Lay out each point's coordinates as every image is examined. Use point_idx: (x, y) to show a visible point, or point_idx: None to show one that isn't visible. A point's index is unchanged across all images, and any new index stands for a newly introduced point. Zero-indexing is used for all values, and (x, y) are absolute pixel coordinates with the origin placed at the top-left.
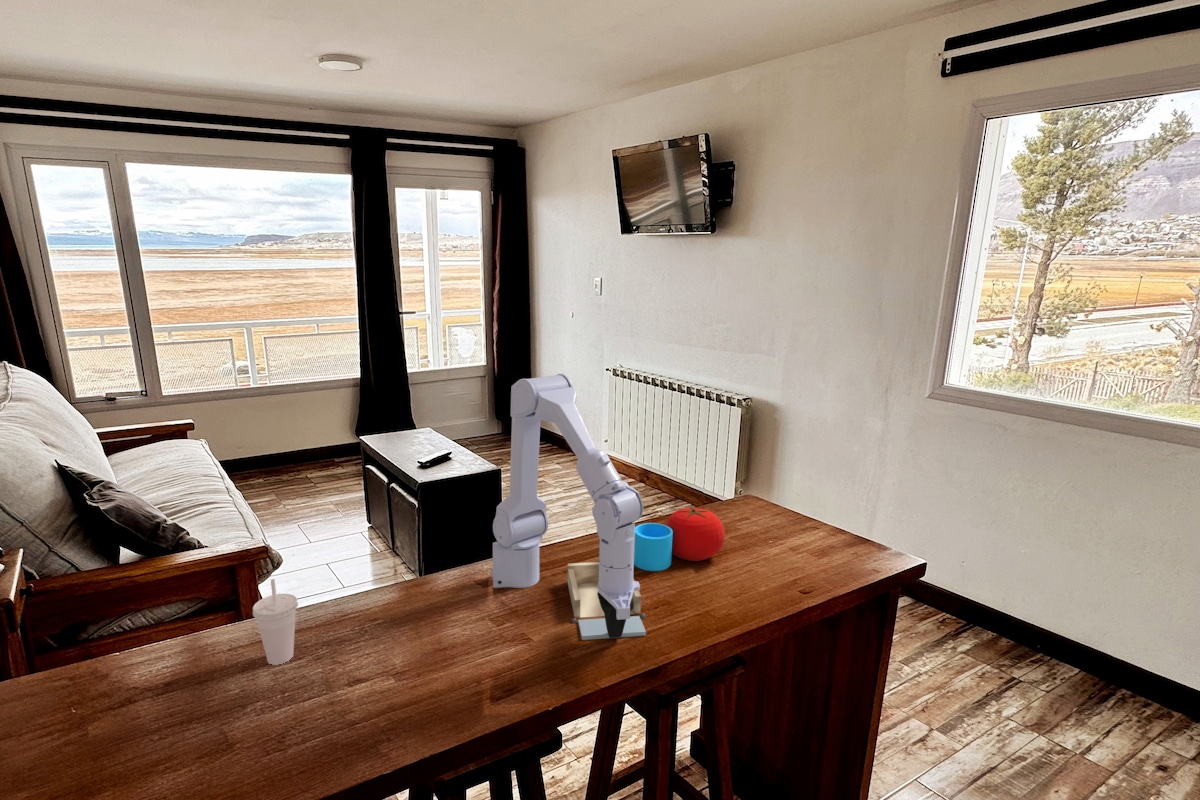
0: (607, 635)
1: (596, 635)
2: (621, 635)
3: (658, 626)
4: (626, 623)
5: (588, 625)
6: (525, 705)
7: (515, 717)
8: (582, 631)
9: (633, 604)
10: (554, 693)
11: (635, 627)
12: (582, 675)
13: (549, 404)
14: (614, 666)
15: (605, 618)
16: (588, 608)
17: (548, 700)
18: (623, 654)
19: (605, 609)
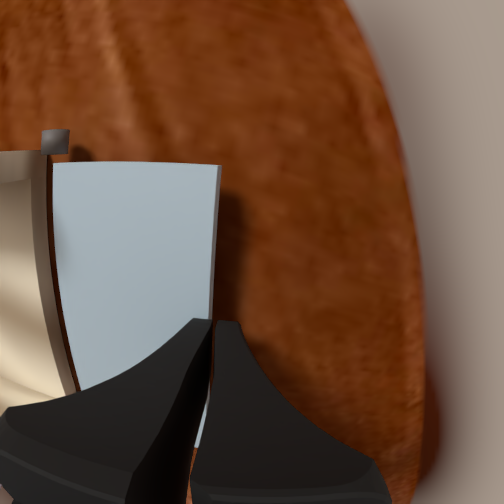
0: None
1: (205, 409)
2: (239, 324)
3: (118, 71)
4: (112, 255)
5: None
6: (394, 495)
7: (410, 497)
8: None
9: (381, 494)
10: (393, 470)
11: (158, 216)
12: (366, 432)
13: None
14: (369, 350)
15: (192, 448)
16: (13, 356)
17: (405, 474)
18: (309, 303)
19: None
